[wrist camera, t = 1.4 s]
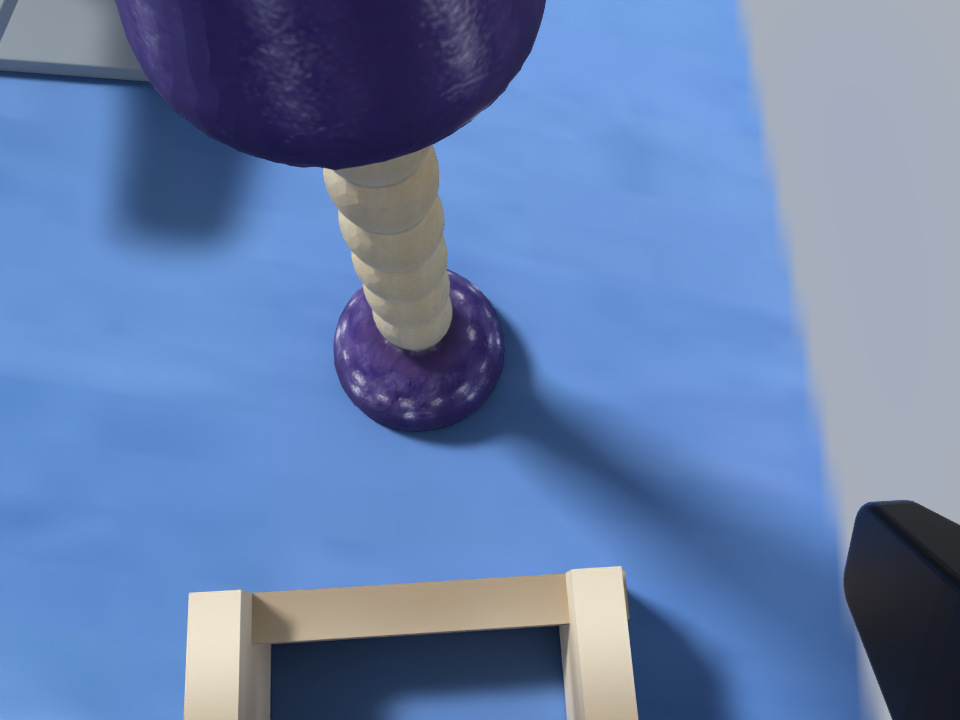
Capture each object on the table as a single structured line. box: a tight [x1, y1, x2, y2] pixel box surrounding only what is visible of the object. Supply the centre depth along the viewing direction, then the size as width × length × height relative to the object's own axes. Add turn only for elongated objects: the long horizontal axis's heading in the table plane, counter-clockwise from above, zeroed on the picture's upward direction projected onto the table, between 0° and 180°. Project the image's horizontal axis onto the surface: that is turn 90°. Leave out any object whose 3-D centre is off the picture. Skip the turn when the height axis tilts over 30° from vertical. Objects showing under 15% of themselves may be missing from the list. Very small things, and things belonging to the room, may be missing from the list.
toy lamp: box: [115, 0, 546, 431], centre depth 14 cm, size 5×5×17 cm
